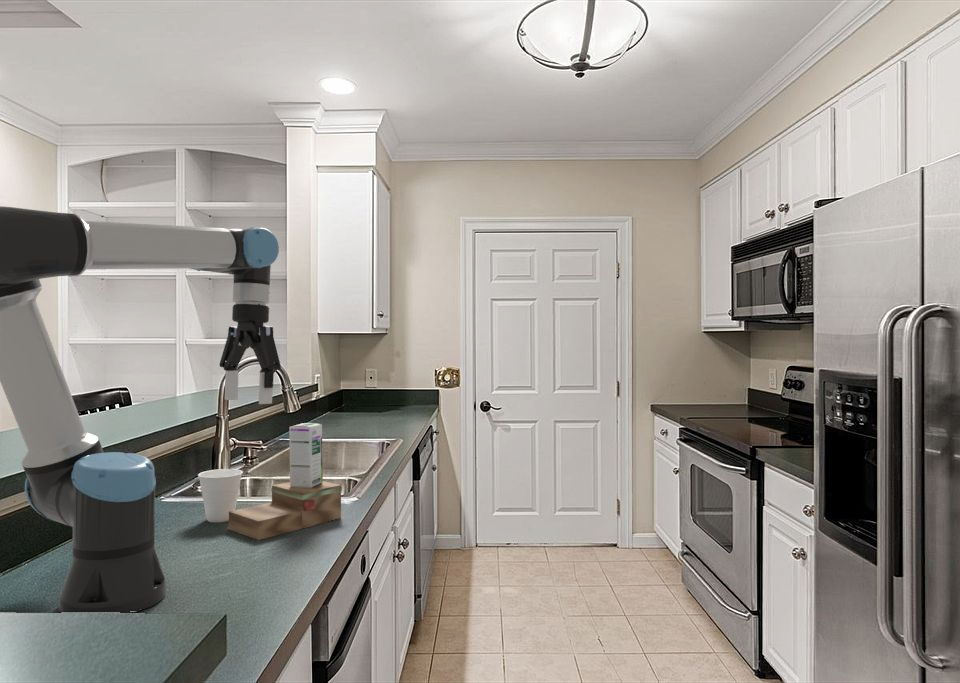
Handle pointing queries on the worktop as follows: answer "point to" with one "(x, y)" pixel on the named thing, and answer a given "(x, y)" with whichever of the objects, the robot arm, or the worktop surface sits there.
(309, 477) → the syrup box
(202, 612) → the worktop surface
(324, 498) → the step stand
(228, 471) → the cup
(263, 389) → the robot arm
